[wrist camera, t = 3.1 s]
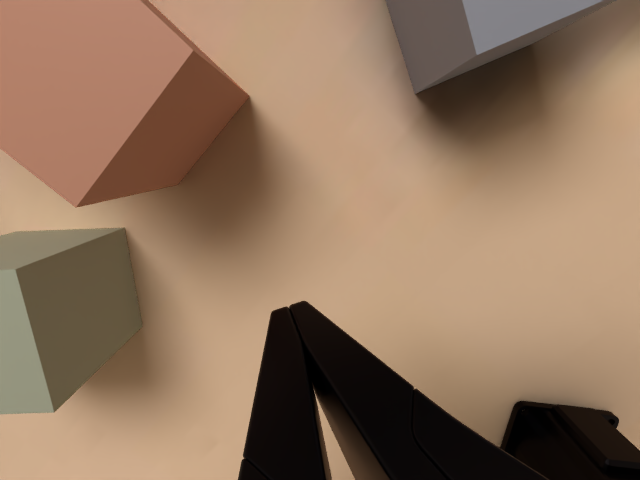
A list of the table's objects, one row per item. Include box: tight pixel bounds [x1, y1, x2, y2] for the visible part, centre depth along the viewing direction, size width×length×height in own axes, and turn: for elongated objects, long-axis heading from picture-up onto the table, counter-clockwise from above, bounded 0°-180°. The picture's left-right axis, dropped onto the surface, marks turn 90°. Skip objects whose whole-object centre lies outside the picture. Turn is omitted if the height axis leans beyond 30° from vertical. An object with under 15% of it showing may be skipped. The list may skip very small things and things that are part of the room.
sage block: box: [0, 228, 142, 414], centre depth 16 cm, size 6×6×7 cm
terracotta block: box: [0, 0, 249, 207], centre depth 13 cm, size 14×6×8 cm, turn 47°
